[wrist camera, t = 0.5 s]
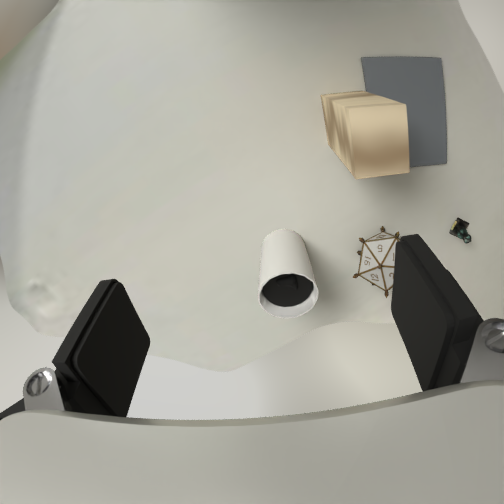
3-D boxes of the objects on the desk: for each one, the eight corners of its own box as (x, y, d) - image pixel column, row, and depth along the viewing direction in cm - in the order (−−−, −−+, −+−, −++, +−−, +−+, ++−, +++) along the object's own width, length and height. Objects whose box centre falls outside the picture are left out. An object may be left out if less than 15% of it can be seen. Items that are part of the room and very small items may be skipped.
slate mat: (360, 57, 29) (362, 57, 29) (439, 57, 28) (441, 57, 28) (373, 170, 37) (374, 171, 36) (445, 162, 35) (446, 163, 35)
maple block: (320, 95, 32) (348, 108, 22) (362, 90, 32) (406, 104, 21) (328, 144, 35) (356, 179, 25) (368, 139, 35) (409, 172, 25)
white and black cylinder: (251, 233, 42) (249, 280, 34) (301, 220, 41) (312, 265, 32) (266, 272, 45) (267, 323, 37) (312, 261, 44) (323, 310, 36)
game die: (378, 223, 45) (436, 236, 37) (370, 278, 47) (424, 297, 38) (340, 221, 40) (405, 236, 32) (331, 284, 42) (390, 308, 34)
